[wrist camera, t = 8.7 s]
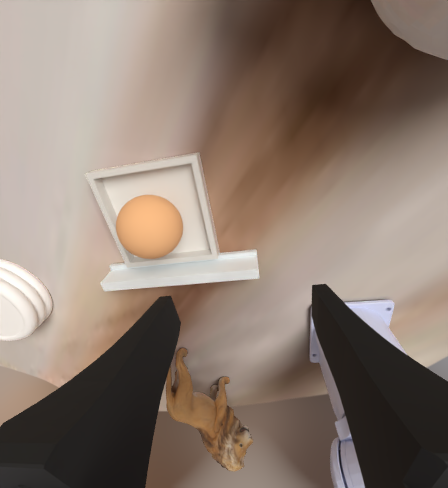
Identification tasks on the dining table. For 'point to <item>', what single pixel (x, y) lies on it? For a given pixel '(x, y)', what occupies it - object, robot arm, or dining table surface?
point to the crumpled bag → (417, 23)
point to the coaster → (21, 302)
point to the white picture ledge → (184, 272)
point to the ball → (149, 226)
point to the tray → (166, 186)
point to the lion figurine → (208, 416)
